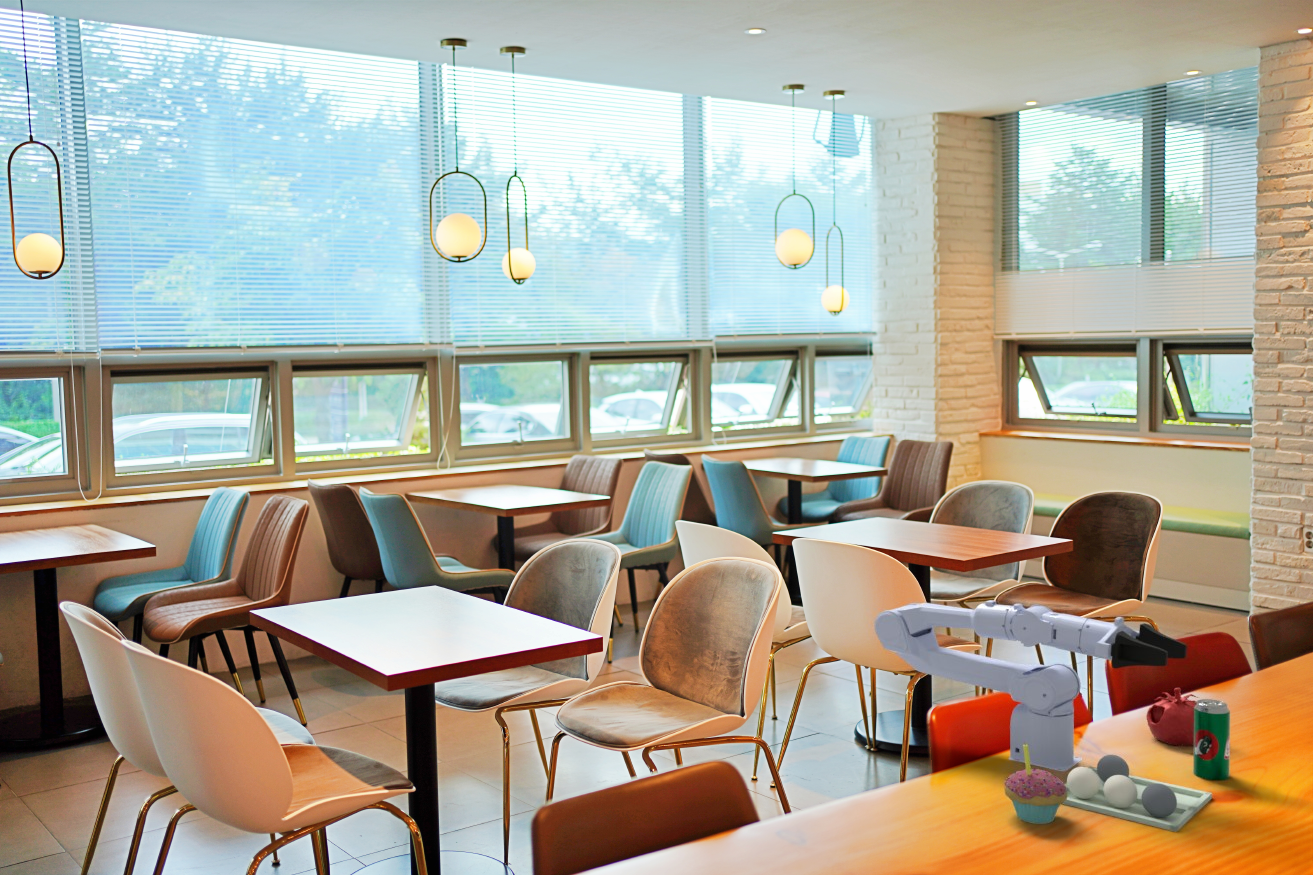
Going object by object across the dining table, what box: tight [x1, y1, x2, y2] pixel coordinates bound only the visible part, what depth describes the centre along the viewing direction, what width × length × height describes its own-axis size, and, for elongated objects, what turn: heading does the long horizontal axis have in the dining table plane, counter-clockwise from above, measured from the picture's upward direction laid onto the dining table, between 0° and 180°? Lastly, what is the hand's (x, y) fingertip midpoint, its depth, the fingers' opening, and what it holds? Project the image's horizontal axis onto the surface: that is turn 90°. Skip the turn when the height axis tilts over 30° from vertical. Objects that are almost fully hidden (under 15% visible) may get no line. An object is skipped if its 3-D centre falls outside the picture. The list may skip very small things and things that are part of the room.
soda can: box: [1192, 698, 1231, 782], centre depth 176 cm, size 5×5×12 cm
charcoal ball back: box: [1096, 754, 1130, 783], centre depth 172 cm, size 5×5×5 cm
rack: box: [1061, 766, 1213, 833], centre depth 167 cm, size 18×16×1 cm
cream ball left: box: [1066, 766, 1100, 799], centre depth 167 cm, size 5×5×5 cm
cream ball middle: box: [1103, 775, 1138, 808], centre depth 164 cm, size 5×5×5 cm
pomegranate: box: [1146, 687, 1200, 747], centre depth 194 cm, size 10×10×9 cm
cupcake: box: [1004, 740, 1067, 825], centre depth 161 cm, size 9×8×12 cm
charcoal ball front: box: [1141, 783, 1177, 817], centre depth 160 cm, size 5×5×5 cm
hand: (1176, 655), depth 169 cm, fingers open, 7 cm apart
